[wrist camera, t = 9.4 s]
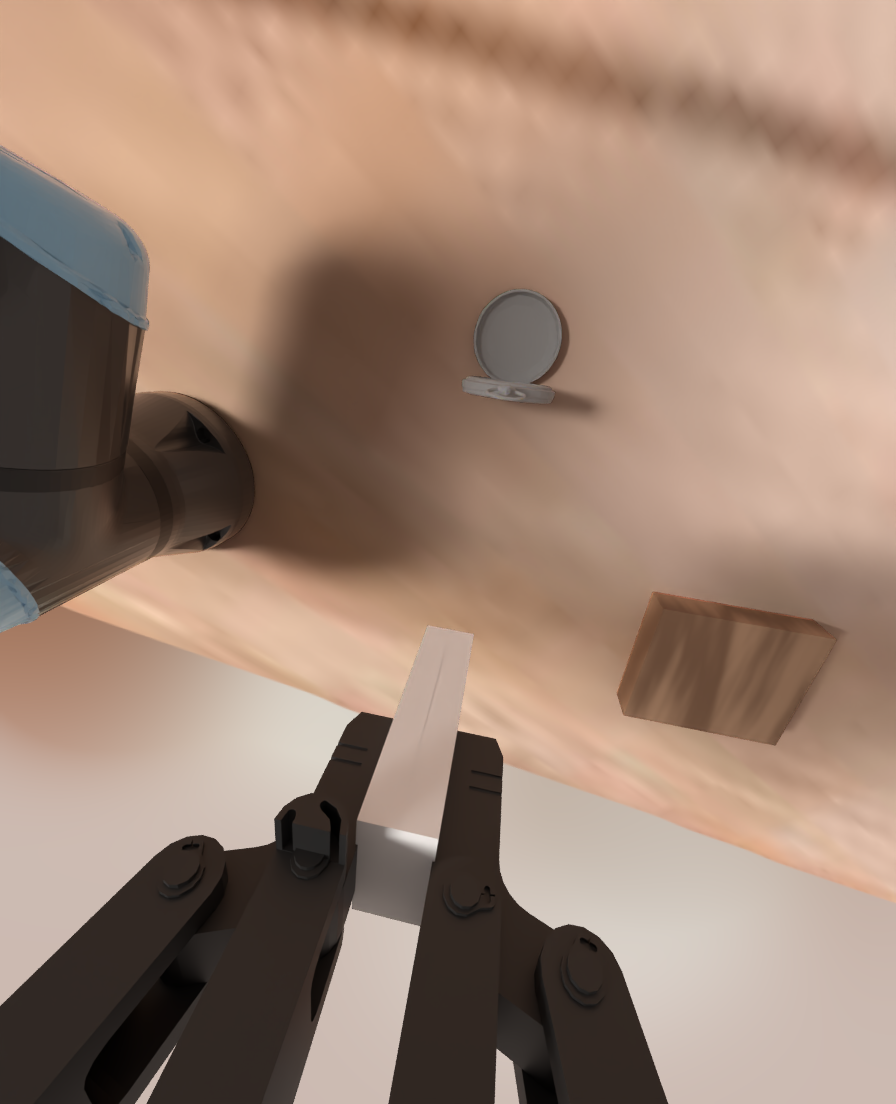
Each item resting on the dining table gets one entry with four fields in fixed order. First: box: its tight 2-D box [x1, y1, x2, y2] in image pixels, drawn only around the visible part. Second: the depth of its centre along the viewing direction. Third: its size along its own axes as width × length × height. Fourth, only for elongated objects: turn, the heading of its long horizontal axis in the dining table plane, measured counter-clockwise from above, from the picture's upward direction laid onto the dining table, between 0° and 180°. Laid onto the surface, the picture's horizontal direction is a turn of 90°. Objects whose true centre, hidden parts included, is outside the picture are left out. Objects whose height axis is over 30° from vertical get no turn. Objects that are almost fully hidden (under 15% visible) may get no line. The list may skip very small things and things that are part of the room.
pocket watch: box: [462, 289, 562, 404], centre depth 30 cm, size 8×8×10 cm
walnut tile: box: [617, 592, 837, 745], centre depth 40 cm, size 4×12×14 cm
